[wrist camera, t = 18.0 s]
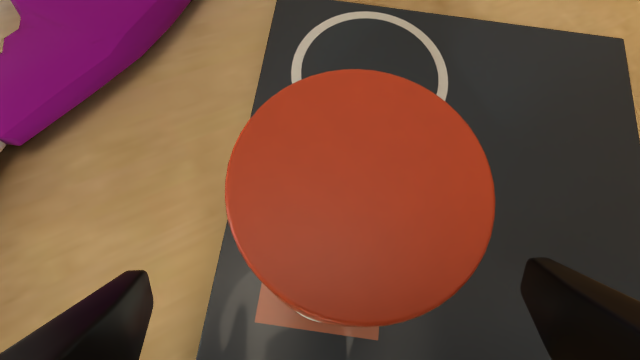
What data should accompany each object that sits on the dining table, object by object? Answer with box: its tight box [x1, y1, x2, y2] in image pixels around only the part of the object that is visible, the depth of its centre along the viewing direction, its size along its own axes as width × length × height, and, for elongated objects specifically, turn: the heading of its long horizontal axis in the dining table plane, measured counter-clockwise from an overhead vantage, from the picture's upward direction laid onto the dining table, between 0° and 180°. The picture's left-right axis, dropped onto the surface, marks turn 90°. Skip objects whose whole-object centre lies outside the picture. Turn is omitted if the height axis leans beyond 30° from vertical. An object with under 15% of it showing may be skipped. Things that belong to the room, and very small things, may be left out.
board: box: [196, 0, 640, 360], centre depth 19 cm, size 19×19×1 cm
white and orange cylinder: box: [225, 69, 495, 327], centre depth 11 cm, size 4×4×12 cm
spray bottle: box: [0, 0, 191, 152], centre depth 20 cm, size 3×11×24 cm
